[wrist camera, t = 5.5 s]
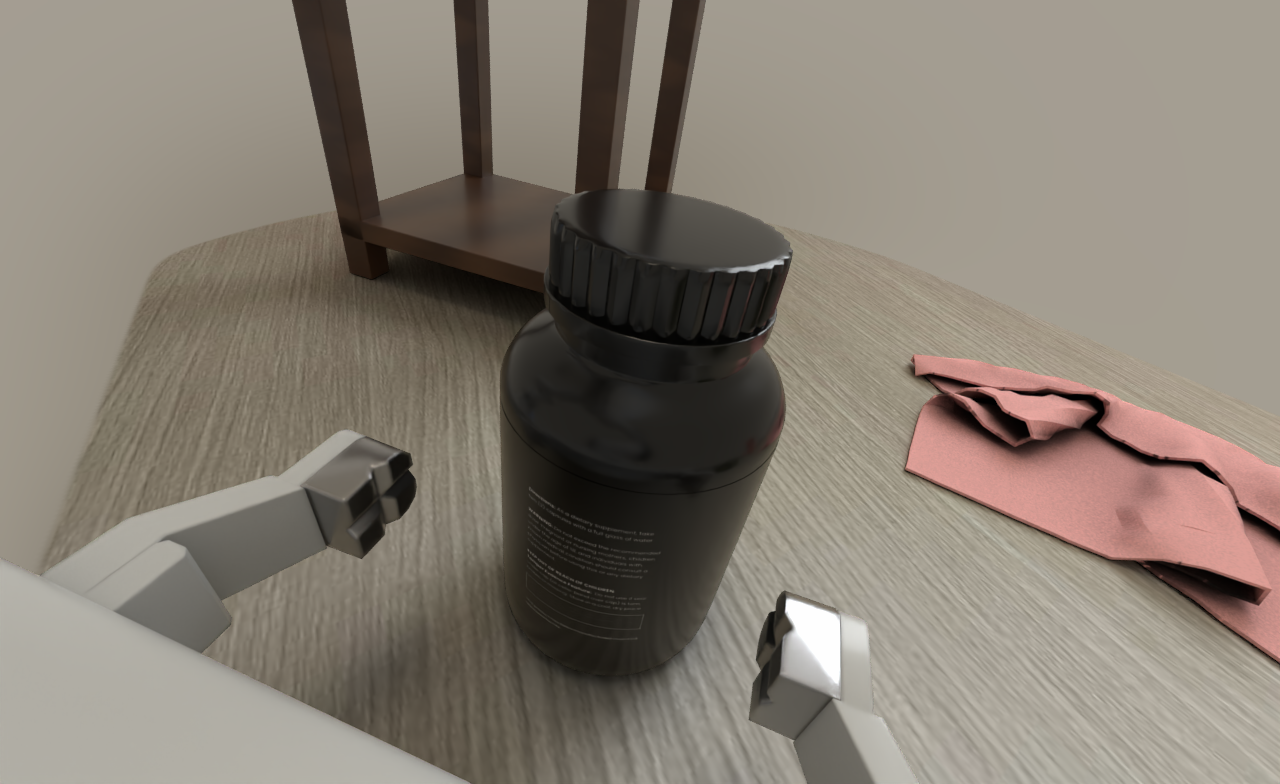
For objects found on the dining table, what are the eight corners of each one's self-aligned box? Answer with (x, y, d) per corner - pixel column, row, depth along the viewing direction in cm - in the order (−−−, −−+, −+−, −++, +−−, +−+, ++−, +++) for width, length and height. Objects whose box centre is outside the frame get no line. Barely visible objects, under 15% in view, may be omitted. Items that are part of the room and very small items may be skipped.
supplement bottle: (749, 599, 17) (920, 266, 10) (582, 740, 13) (664, 353, 6) (624, 472, 21) (681, 166, 14) (466, 551, 17) (428, 177, 10)
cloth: (1430, 564, 24) (1489, 532, 22) (1267, 791, 14) (1351, 762, 13) (1022, 340, 38) (1042, 312, 36) (805, 382, 28) (821, 346, 27)
